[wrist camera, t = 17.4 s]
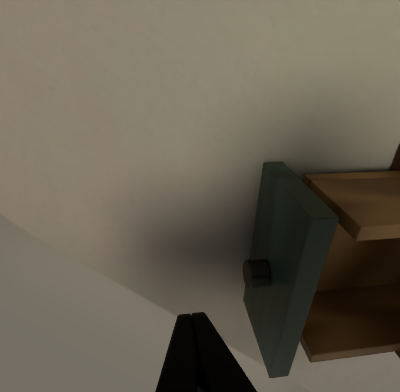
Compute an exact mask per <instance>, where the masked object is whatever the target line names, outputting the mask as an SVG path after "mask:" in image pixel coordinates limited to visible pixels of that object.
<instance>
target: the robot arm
mask: <svg viewBox="0 0 400 392" xmlns="http://www.w3.org/2000/svg"><path fill="white" fill-rule="evenodd" d="M156 392H257V391H256V389H255V388H254V386H253V385H252V383H251V382H250V380H249V379H248V377H247V376H246V374H245V373H244V371H243V370H242V368H241V367H240V365H239V364H238V362H237V361H236V359H235V358H234V356H233V355H232V353H231V352H230V350H229V349H228V347H227V346H226V344H225V343H224V341H223V340H222V338H221V336H220V335H219V333H218V332H217V330H216V329H215V327H214V326H213V324H212V323H211V321H210V320H209V318H208V317H207V315H206V314H205V313H204V312H198V313H192V315H191V314H180V315H178V317H177V320H176V323H175V327H174V330H173V333H172V337H171V340H170V344H169V347H168V350H167V354H166V357H165V361H164V364H163V368H162V371H161V375H160V378H159V381H158V385H157V388H156Z"/></svg>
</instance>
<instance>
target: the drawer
mask: <svg viewBox="0 0 400 392" xmlns="http://www.w3.org/2000/svg"><path fill="white" fill-rule="evenodd" d="M243 277H244V282H245V284H246V285H245V292H244V298H243V301H244V304H245V307H246V310H247V313H248V316H249V319H250V321H251V324H252V327H253V330H254V333H255V336H256V339H257V342H258V345H259V348H260V351H261V354H262V357H263V360H264V363H265V366H266V369H267V372H268V375H269V378H276V377H283V376H288V375H289V372H290V369H291V366H292V363H293V359H294V356H295V353H296V350H297V347H298V344H299V341H300V342H301V344H302V346H303V349H304V351H305V353H306V355H307V357H308V359H309V361H310V362H311V363H312V362H319V361H326V360H334V359H341V358H349V357H356V356H364V355H371V354H378V353H386V352H393V351H400V171H381V172H355V173H329V174H305V175H304V179H303V182H302V181H301V180H300V179H299V178H298V177H297V176H296V175H295V174H294V173H293V172H292V171H291V170H290V169H289V168H288V167H287V166H286V165H285V164H284V163H283V162H272V163H263V169H262V176H261V183H260V190H259V197H258V203H257V210H256V217H255V224H254V231H253V237H252V244H251V251H250V258H249V260H245V261H244V263H243Z"/></svg>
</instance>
